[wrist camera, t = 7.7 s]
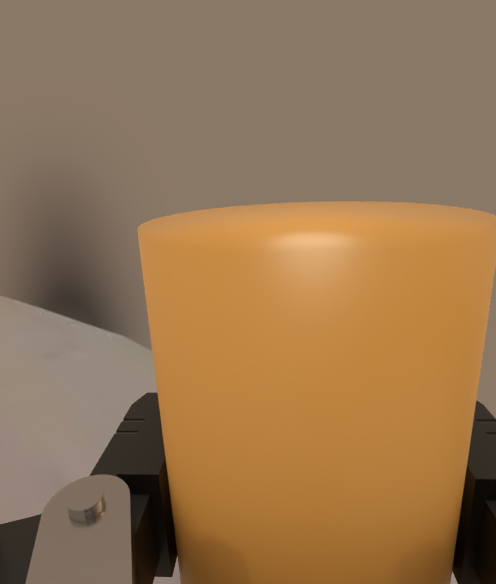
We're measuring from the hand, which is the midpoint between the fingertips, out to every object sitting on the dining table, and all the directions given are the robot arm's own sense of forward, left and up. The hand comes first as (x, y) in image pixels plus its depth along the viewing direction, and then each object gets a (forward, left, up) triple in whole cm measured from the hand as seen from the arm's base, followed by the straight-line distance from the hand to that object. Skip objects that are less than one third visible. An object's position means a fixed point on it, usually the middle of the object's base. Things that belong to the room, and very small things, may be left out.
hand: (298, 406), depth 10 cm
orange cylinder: (+1, +2, -7) cm, 7 cm away
